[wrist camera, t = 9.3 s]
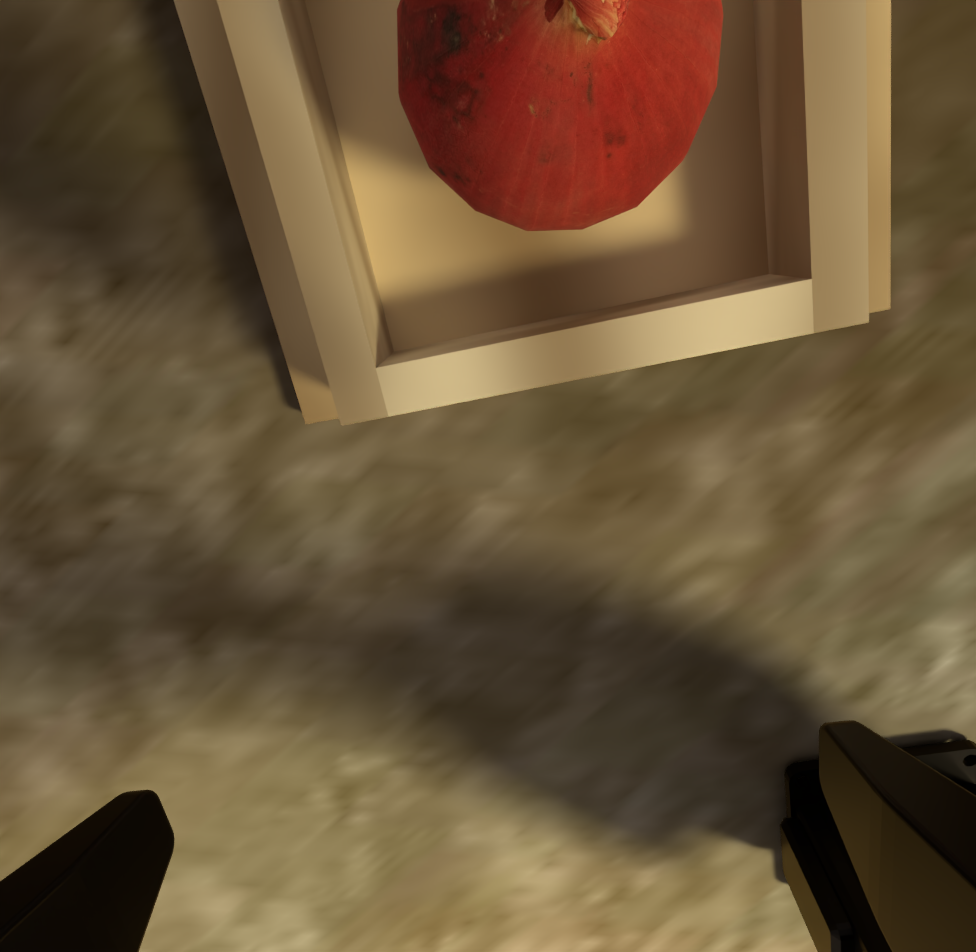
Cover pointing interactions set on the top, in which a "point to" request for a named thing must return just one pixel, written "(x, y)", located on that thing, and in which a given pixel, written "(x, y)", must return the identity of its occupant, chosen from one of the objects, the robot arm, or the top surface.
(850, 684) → the top surface
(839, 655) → the top surface
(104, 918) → the robot arm
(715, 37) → the onion
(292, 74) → the tray
